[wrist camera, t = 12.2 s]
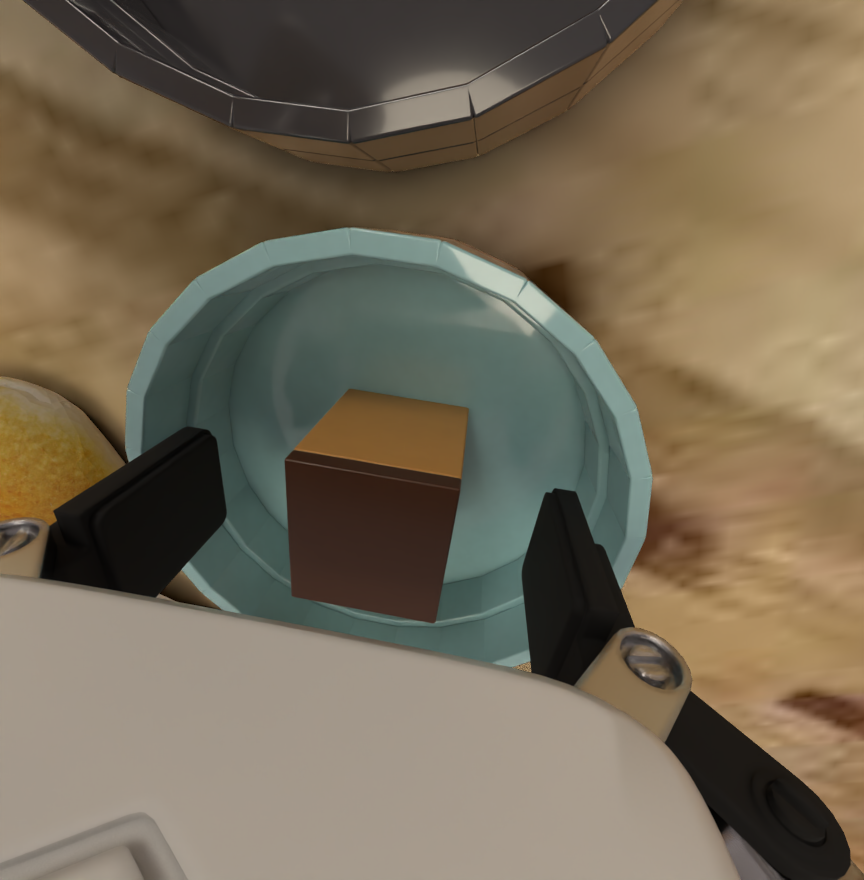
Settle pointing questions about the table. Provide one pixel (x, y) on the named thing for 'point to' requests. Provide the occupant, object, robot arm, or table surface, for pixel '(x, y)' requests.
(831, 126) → the table surface
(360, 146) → the charcoal bowl
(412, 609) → the snack cake
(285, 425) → the blue bowl
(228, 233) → the table surface
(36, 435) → the bread roll
